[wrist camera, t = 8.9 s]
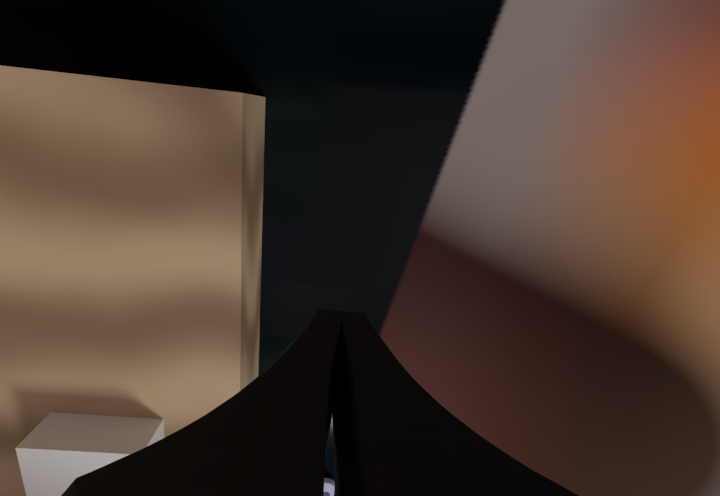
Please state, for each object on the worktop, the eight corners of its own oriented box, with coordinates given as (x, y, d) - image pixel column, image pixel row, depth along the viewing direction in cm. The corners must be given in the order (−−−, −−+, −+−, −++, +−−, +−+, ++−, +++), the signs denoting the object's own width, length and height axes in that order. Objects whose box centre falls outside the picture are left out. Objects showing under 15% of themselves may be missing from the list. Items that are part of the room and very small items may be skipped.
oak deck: (256, 446, 24) (239, 508, 20) (51, 434, 23) (-7, 497, 19) (265, 97, 17) (242, 93, 14) (-19, 65, 17) (-127, 50, 13)
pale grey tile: (169, 498, 20) (149, 539, 18) (65, 493, 19) (35, 534, 17) (163, 418, 18) (141, 454, 16) (50, 412, 18) (15, 447, 16)
